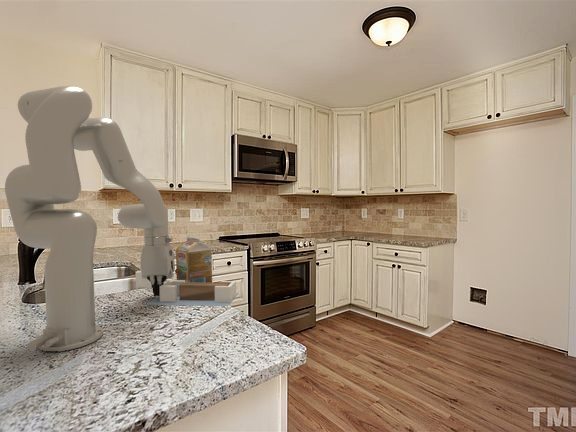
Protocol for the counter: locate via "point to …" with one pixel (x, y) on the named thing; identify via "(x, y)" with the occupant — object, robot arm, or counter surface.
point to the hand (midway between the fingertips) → (158, 295)
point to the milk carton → (194, 262)
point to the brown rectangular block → (198, 290)
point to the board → (189, 302)
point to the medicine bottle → (142, 281)
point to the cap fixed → (225, 292)
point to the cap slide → (170, 291)
